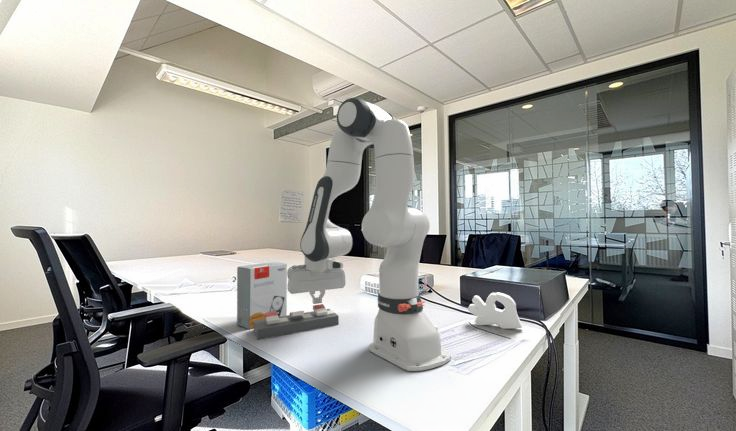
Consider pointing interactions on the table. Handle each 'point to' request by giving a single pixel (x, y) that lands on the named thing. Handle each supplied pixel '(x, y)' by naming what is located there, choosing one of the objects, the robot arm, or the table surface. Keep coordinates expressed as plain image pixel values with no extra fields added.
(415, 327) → the robot arm
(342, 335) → the table surface
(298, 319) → the power strip
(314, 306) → the rocker
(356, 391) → the table surface
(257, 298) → the hard drive box
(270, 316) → the rocker
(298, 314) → the rocker
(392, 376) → the table surface
